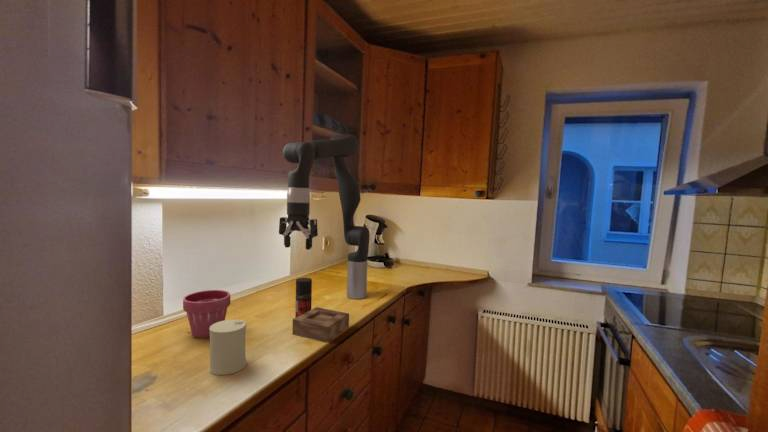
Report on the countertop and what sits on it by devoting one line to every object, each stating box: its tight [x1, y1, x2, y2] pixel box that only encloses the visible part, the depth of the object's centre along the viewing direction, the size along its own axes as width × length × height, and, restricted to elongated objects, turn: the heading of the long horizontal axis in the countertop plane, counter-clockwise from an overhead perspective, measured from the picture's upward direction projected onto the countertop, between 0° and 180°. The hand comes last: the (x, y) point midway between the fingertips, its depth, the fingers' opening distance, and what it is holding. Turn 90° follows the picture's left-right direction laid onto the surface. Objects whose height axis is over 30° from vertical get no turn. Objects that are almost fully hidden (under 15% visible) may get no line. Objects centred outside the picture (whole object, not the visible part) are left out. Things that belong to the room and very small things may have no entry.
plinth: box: [292, 306, 350, 343], centre depth 119 cm, size 14×14×5 cm
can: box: [208, 319, 247, 376], centre depth 93 cm, size 9×9×12 cm
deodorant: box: [294, 277, 313, 318], centre depth 130 cm, size 6×6×15 cm
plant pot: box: [182, 289, 231, 339], centre depth 114 cm, size 14×14×13 cm
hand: (297, 248), depth 117 cm, fingers open, 8 cm apart
